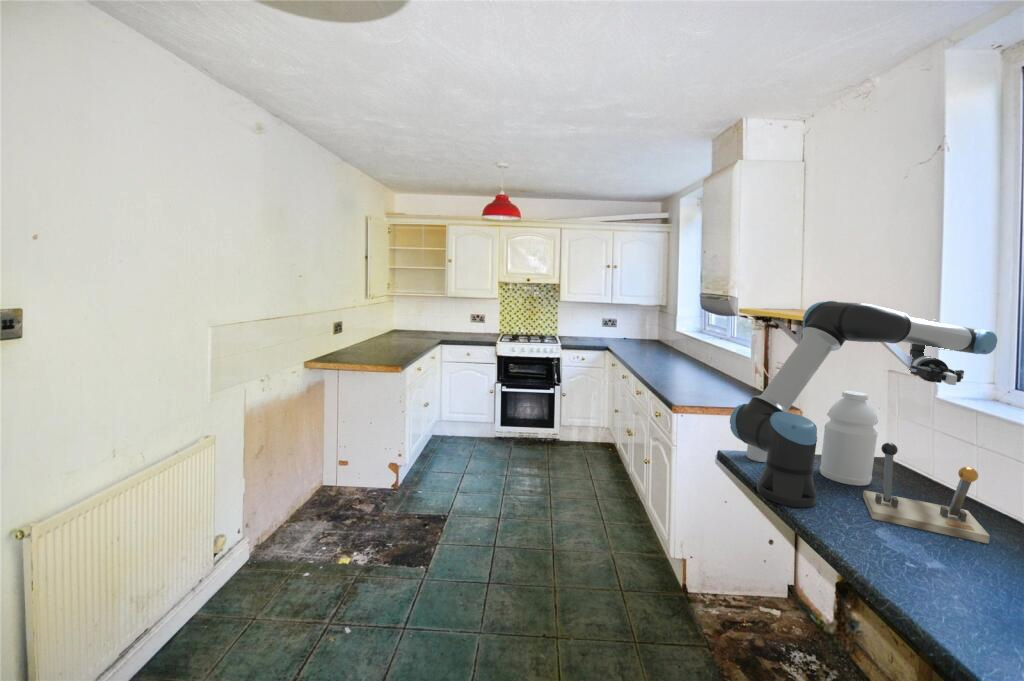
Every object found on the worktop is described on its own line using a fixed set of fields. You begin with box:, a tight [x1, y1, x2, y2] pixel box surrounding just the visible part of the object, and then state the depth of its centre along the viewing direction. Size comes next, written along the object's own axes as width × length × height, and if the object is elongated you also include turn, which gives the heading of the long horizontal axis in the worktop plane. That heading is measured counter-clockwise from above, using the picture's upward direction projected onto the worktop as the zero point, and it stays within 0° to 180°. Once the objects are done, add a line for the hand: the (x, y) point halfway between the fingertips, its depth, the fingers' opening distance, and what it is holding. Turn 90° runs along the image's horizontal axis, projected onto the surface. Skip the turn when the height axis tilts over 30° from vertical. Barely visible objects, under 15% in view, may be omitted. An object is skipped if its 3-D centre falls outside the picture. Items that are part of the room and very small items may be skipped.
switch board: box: [862, 489, 991, 544], centre depth 130 cm, size 23×16×4 cm
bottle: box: [819, 390, 879, 486], centre depth 155 cm, size 14×14×28 cm
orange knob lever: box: [948, 466, 979, 516], centre depth 123 cm, size 4×4×16 cm
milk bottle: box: [746, 444, 767, 463], centre depth 170 cm, size 8×8×20 cm
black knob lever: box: [880, 442, 899, 503], centre depth 135 cm, size 4×4×16 cm
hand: (953, 380), depth 136 cm, fingers closed
